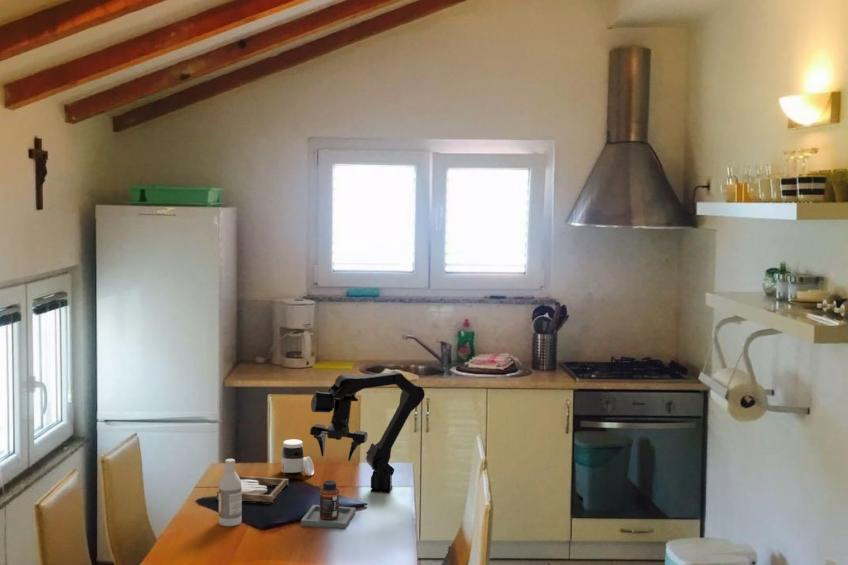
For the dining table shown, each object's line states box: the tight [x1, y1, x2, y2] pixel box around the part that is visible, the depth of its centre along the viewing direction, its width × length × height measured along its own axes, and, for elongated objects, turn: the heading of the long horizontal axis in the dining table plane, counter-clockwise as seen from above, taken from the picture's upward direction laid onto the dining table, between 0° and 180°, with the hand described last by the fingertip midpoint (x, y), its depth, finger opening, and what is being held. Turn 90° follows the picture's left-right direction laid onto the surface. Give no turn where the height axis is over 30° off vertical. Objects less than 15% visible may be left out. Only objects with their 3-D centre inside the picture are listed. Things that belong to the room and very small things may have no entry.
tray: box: [300, 504, 357, 530], centre depth 290 cm, size 14×14×2 cm
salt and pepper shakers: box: [241, 480, 268, 495], centre depth 312 cm, size 12×4×11 cm
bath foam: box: [218, 458, 243, 527], centre depth 284 cm, size 7×7×20 cm
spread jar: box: [281, 438, 315, 477], centre depth 334 cm, size 12×11×12 cm
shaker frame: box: [216, 475, 289, 503], centre depth 313 cm, size 19×18×2 cm
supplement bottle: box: [319, 480, 340, 520], centre depth 290 cm, size 6×6×11 cm
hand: (335, 458), depth 311 cm, fingers open, 9 cm apart
